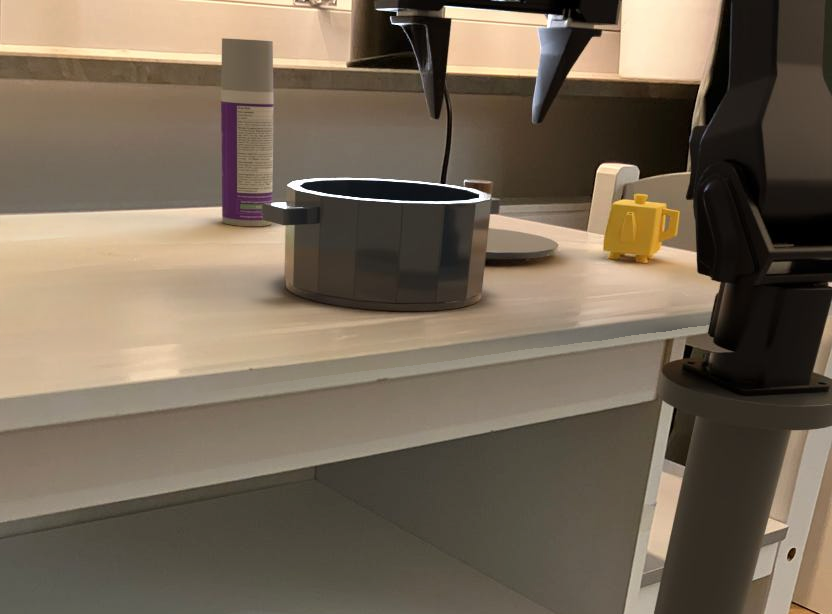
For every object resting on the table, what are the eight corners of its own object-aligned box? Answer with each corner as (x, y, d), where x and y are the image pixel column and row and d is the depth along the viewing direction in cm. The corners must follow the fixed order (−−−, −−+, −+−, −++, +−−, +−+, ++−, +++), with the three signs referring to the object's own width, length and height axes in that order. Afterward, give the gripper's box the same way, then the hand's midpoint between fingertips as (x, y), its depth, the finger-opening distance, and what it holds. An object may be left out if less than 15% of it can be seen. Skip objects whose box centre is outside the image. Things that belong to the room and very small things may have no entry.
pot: (548, 297, 74) (561, 198, 71) (335, 323, 64) (340, 208, 60) (419, 265, 83) (426, 176, 80) (215, 283, 73) (214, 181, 69)
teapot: (661, 269, 88) (674, 202, 85) (593, 260, 90) (603, 195, 87) (678, 257, 94) (690, 194, 91) (614, 249, 96) (624, 188, 93)
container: (217, 218, 100) (215, 38, 93) (265, 219, 102) (267, 41, 94) (227, 226, 96) (226, 38, 89) (277, 226, 98) (279, 41, 91)
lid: (592, 260, 90) (603, 189, 87) (469, 271, 82) (477, 194, 79) (473, 234, 100) (479, 170, 97) (353, 243, 92) (356, 173, 89)
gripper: (568, -89, 88) (542, 119, 95) (357, -113, 82) (347, 110, 90) (641, -103, 79) (605, 128, 86) (409, -131, 73) (393, 119, 81)
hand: (486, 121), depth 86 cm, fingers open, 9 cm apart
